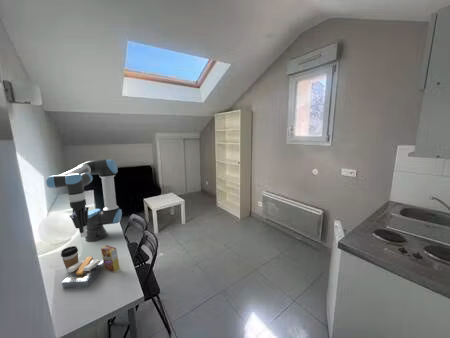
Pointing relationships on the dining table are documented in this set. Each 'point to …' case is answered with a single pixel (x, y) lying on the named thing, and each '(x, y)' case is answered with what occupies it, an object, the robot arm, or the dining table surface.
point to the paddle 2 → (92, 265)
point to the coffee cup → (69, 256)
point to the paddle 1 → (75, 266)
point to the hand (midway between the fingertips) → (84, 236)
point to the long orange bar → (84, 265)
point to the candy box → (110, 258)
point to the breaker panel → (83, 277)
